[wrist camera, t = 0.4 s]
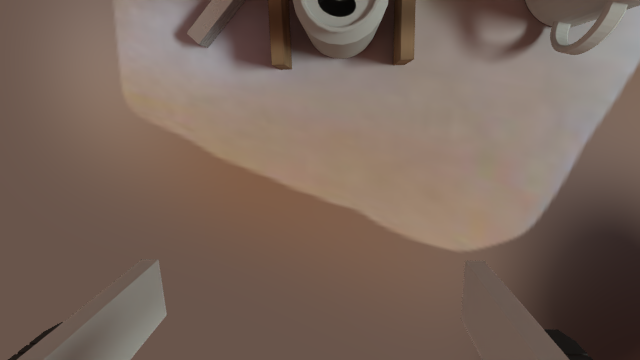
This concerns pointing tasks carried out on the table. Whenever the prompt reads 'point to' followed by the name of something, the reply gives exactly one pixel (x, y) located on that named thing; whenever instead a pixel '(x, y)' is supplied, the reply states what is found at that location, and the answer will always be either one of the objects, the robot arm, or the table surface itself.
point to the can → (340, 24)
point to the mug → (579, 20)
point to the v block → (213, 20)
